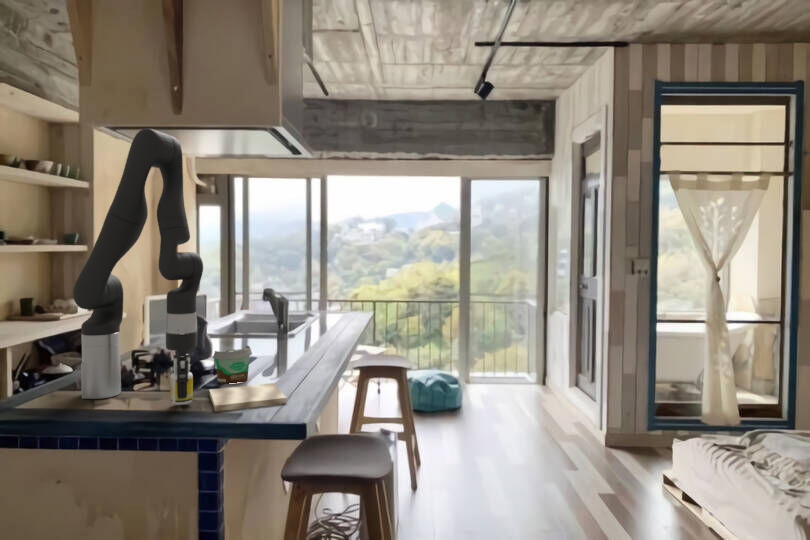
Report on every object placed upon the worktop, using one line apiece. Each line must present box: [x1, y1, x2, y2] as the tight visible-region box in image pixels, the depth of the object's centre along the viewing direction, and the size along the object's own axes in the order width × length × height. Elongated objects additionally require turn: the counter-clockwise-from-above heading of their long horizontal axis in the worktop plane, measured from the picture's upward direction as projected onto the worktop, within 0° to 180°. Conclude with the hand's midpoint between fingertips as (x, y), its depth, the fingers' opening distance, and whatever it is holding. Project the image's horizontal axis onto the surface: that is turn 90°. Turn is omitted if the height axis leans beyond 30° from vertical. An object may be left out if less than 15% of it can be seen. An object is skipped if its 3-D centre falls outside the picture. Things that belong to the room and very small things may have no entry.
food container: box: [213, 344, 253, 385], centre depth 168 cm, size 12×6×10 cm, turn 143°
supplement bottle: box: [169, 363, 194, 406], centre depth 144 cm, size 5×5×10 cm
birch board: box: [208, 382, 288, 412], centre depth 151 cm, size 18×16×2 cm
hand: (181, 394), depth 145 cm, fingers closed on supplement bottle, 5 cm apart
